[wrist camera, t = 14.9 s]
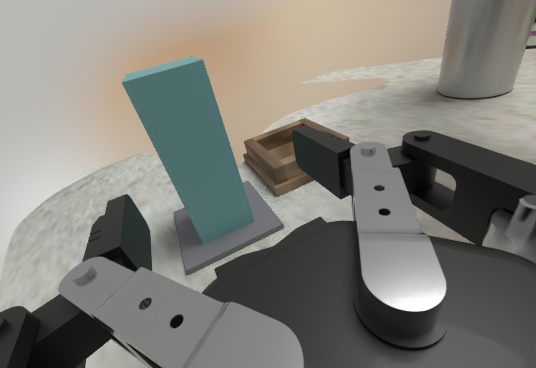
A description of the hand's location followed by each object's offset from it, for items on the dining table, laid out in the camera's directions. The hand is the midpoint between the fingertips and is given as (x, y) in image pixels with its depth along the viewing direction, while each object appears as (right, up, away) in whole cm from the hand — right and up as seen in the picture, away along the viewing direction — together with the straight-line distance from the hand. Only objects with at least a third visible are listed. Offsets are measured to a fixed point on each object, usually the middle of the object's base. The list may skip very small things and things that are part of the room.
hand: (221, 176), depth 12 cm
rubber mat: (-2, -4, +13) cm, 14 cm away
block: (-2, -4, +13) cm, 14 cm away
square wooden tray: (+6, +3, +20) cm, 21 cm away
